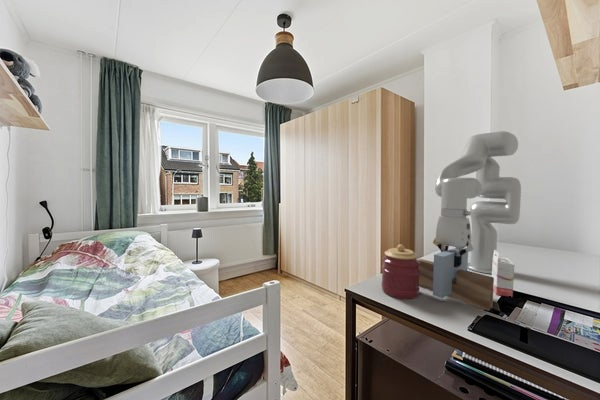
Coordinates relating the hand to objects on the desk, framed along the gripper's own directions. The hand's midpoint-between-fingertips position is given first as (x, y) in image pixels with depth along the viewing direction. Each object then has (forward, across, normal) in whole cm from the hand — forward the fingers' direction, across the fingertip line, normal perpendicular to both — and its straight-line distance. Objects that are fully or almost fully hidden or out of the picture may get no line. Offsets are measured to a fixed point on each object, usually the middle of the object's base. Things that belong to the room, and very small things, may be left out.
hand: (451, 264), depth 87 cm
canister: (+11, +12, +12) cm, 21 cm away
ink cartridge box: (+11, -9, -19) cm, 24 cm away
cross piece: (+9, 0, 0) cm, 9 cm away
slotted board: (+11, 0, 0) cm, 11 cm away
